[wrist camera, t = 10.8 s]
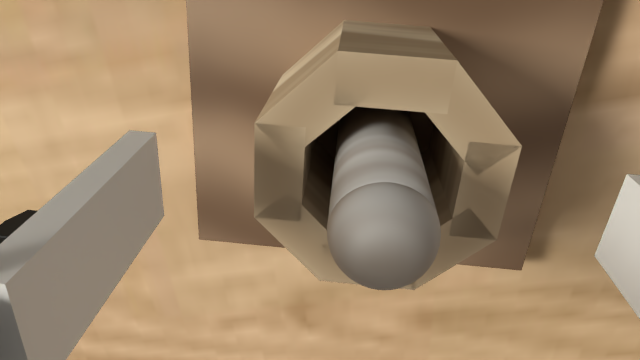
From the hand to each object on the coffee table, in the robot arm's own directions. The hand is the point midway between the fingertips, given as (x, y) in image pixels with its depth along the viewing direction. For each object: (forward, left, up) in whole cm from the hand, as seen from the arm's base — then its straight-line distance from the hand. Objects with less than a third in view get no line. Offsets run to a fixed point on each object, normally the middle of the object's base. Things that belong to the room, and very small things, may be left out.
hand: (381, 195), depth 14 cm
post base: (0, 0, -9) cm, 9 cm away
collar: (0, 0, -8) cm, 8 cm away
